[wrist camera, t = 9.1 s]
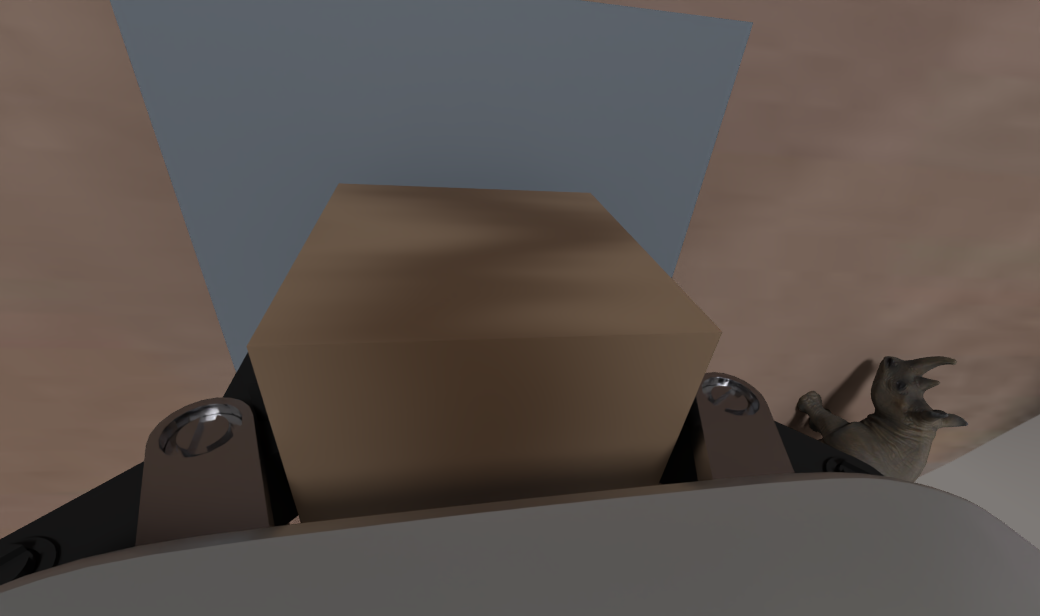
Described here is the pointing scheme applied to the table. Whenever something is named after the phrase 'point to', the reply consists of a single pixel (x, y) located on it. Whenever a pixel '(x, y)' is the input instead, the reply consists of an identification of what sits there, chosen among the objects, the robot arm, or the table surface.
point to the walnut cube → (473, 352)
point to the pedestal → (419, 115)
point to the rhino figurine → (888, 419)
